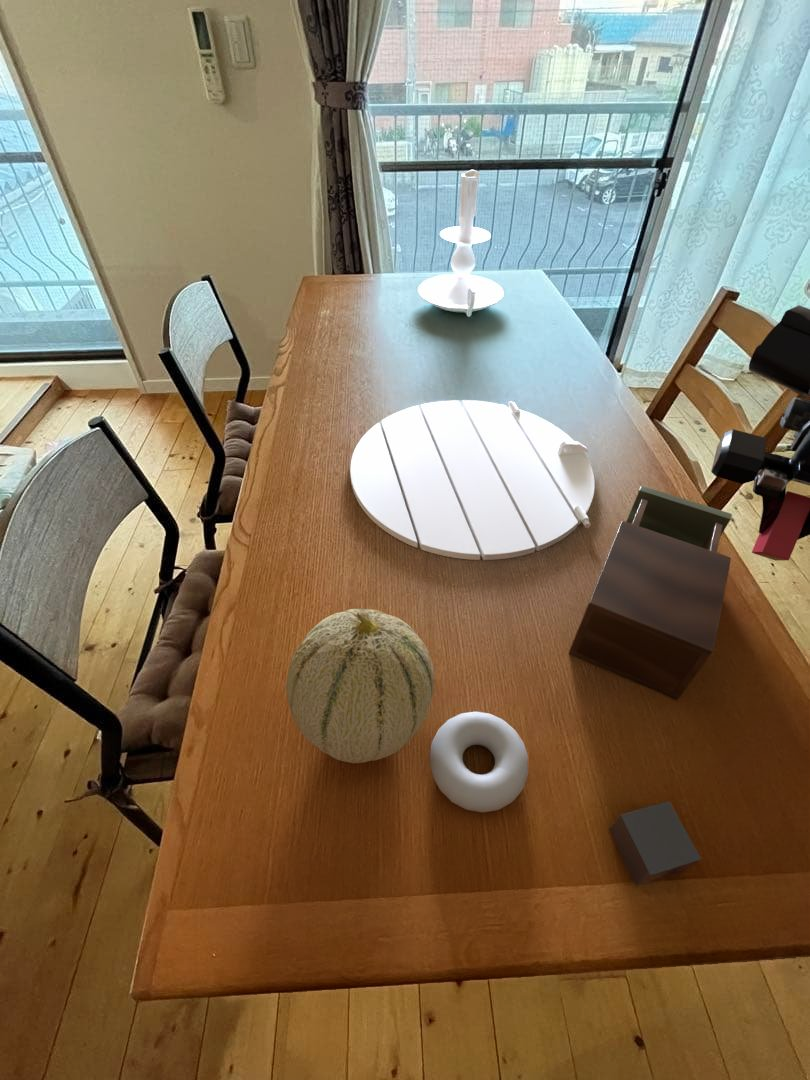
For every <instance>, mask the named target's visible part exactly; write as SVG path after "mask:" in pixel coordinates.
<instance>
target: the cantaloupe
mask: <svg viewBox="0 0 810 1080" xmlns="http://www.w3.org/2000/svg"><path fill="white" fill-rule="evenodd" d="M285 690H286V696H287V697H286V699H287V703H288V708H289V711H290V713H291V716H292V717H293V719H294V723H295V725H296V727H297V729H298V730H299V732H300V733H301V734H302V735H303V737H304V738H305V740H306V741H307V742H309V743H310V744H311V745H312V746H313V747H317V748H318V750H320V752H322V753H324V754H327V755H328V756H330V757H332V758H333V759H335V760H337V761H340V762H344V763H348V764H361V763H363V764H364V763H368V762H371V761H378V760H382V759H385V758H388V757H389V756H391V755H393V754H395V753H396V752H398V751H399V750H400V749H401V748H403V747H404V746H405V744H406V743H407V742H409V741H410V740H411V739H412V738H413V737H414V736H415V735H416V734H417V733H418V731H419V730H420V728H421V727H422V725H423V723H424V722H425V721H426V718H427V716H428V713H429V710H430V707H431V702H432V700H433V696H434V690H435V668H434V665H433V661H432V659H431V655H430V652H429V651H428V648H427V646H426V644H425V643H424V641H423V640H422V639H421V638H420V637H419V635H418V634H417V633H416V632H415V630H414V629H413V628H412V627H411V626H410V625H409V624H408V623H406V622H405V621H403V620H402V619H401V618H399V617H397V616H394V615H391V614H388V613H385V612H383V611H381V610H377V609H371V608H351V609H346V610H343V611H339V612H336V613H333V614H331V615H328V616H327V617H325V618H323V619H322V620H320V622H318V623H317V624H316V625H315V626H314V627H312V629H311V630H310V631H308V633H307V635H306V636H305V637H304V639H303V640H302V642H301V643H300V644H299V645H298V646H297V648H296V650H295V652H294V653H293V657H292V659H291V660H290V664H289V667H288V671H287V675H286V684H285Z"/></svg>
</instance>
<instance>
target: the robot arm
mask: <svg viewBox="0 0 810 1080" xmlns="http://www.w3.org/2000/svg"><path fill="white" fill-rule="evenodd" d="M748 371H749V372H750V373H751V374H755V376H758V377H760V378H763V379H765V380H767V381H769V382H771V383H774V384H776V385H778V386H780V387H782V388H784V389H786V390H789V391H792V392H793V393H795V394H798V395H799V396H802V397H805V398H806V397H809V396H810V308H807V307H805V306H803V305H800V304H799V305H796V306H793V307H791V308H790V309H787V310H785V311H784V313H783V315H782V317H781V319H780V321H779V322H778V323H776V325H775V326H774V327H773V328H772V329H771V330H770V331H769V332H768V333H767V335H766V336H765V338H764V339H763V340H762V341H761V344H759V345H757V346H756V347H755V349H754V351H753V353H752V355H751V358H750V360H749V363H748ZM805 398H800V397H796V396H793V398H792V399H791V401H790V403H789V404H788V405H787V407H786V408H785V411H784V413H783V414H782V416H781V418H780V421H779V425H780V427H781V428H782V429H785V430H789V431H792V432H794V434H793V438H794V439H793V441H792V443H791V444H790V451H791V452H794V453H793V454H792V456H791V457H789V456H785V455H781V454H778V453H771V452H768V451H766V445H767V440H768V439H767V437H764V436H760V435H756V434H754V433H749V432H745V431H742V430H738V429H735V428H732V429H730V430H728V431H726V432H724V433H723V435H722V436H721V438H720V440H719V442H718V444H717V446H716V449H715V453H714V458H713V463H712V466H711V471H710V472H711V474H713V475H714V476H715V477H717V478H720V479H723V480H727V481H730V482H734V483H737V484H741V485H744V484H747V483H750V482H753V486H752V492H753V493H754V494H755V495H756V496H759V497H761V499H762V511H761V517H760V522H759V527H758V533H761V534H763V532H764V531H765V530H766V529H767V528H768V527H769V526H770V524H771V522H772V521H773V519H774V517H775V516H776V514H777V512H778V510H779V509H780V507H781V505H782V504H783V502H784V500H785V493H786V492H787V485H788V484H789V483H790V482H796V483H799V484H803V485H805V486H806V485H807V486H810V399H809V400H808V399H805ZM808 536H810V511H809V513H808V516H807V518H806V520H805V523H804V525H803V528H802V530H801V532H800V535H799V537H798V540H802V539H803V538H805V537H808ZM798 540H797V541H798Z"/></svg>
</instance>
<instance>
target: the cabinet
mask: <svg viewBox="0 0 810 1080" xmlns="http://www.w3.org/2000/svg"><path fill="white" fill-rule="evenodd" d="M731 559H732V557H731V556H728V555H725V554H722V553H719V552H717V553H716V552H713V551H710V550H707V549H704V548H701V547H699V546H696V545H693V544H690V543H687V542H684V541H681V540H678V539H675V538H672V537H669V536H666V535H663V534H660V533H657V532H654V531H651V530H648V529H646V528H643V527H640V526H637V525H634V524H631V523H628V522H626V521H625V520H621V521H620V524H619V527H618V529H617V532H616V534H615V537H614V539H613V541H612V544H611V547H610V548H609V551H608V554H607V557H606V559H605V561H604V564H603V566H602V569H601V571H600V573H599V576H598V579H597V581H596V584H595V586H594V588H593V590H592V591H593V592H592V594H591V596H590V598H589V601H588V604H587V606H586V608H585V612H584V613H583V616H582V619H581V621H580V623H579V626H578V629H577V630H576V633H575V636H574V638H573V641H572V643H571V646H570V649H569V651H568V655H570V656H572V657H575V658H577V659H579V660H582V661H584V662H586V663H589V664H591V665H593V666H595V667H598V668H599V669H603V670H605V671H607V672H609V673H612V674H614V675H617V676H619V677H621V678H624V679H626V680H628V681H630V682H633V683H636V684H637V685H640V686H642V687H644V688H646V689H649V690H651V691H654V692H656V693H658V694H660V695H663V696H665V697H667V698H670V699H672V700H674V701H678V699H679V698H680V697H681V696H682V695H683V693H684V692H685V691H686V689H687V688H688V686H690V684H691V682H692V681H693V680H694V679H695V677H696V676H697V674H698V673H699V672H700V670H701V669H702V668H703V666H704V665H705V663H706V662H707V661H708V660H709V658H710V657H711V655H712V654H713V653H714V649H715V645H716V639H717V634H718V629H719V624H720V618H721V614H722V608H723V603H724V597H725V592H726V586H727V581H728V575H729V570H730V565H731Z"/></svg>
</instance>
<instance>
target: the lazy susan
mask: <svg viewBox="0 0 810 1080" xmlns="http://www.w3.org/2000/svg"><path fill="white" fill-rule="evenodd" d="M507 404H508V405H506V404H502V403H497V402H491V401H486V400H485V401H484V400H475V399H473V400H472V399H462V400H460V399H448V400H447V399H446V400H437V401H431V402H424V403H421V404H419V405H418V404H417V405H413V406H410V407H407V408H404V409H401V410H397V411H396V412H393V413H392V414H390V415H388V416H386V417H384V418H383V419H381V421H378V422H377V423H375V424H374V425H373V426H372V427H370V429H368V430H367V431H365V434H363V436H362V437H360V440H359V441H358V442H357V444H356V446H355V448H354V450H353V453H352V455H351V459H350V465H349V470H350V471H349V473H350V474H349V475H350V483H351V488H352V491H353V495H354V497H355V500H356V501H357V503H358V505H359V506H360V508H361V509H362V511H363V513H365V515H366V516H367V517H368V518H369V519H370V520H371V521H372V522H373V523H374V524H375V525H377V526H378V527H379V528H380V529H381V530H383V531H384V532H386V533H388V534H389V535H390V536H392V537H393V538H395V539H397V540H399V541H401V542H402V543H404V544H407V545H409V546H411V547H413V548H416V549H418V545H419V548H420V550H422V551H425V552H427V553H430V554H434V555H439V556H443V557H448V558H455V559H461V560H471V561H473V560H474V561H480V560H481V559H482V560H483V561H492V560H493V561H494V560H505V559H512V558H519V557H523V556H527V555H530V554H534V553H535V552H540V551H542V550H545V549H547V548H549V547H551V546H554V545H555V544H557V543H559V542H560V541H562V540H564V539H565V538H567V536H569V535H570V534H571V533H573V532H574V531H575V530H577V527H578V526H580V524H583V527H585V528H586V529H588V528H590V527H591V523H590V517H589V516H588V515H587V514H588V512H589V510H590V508H591V505H592V502H593V499H594V496H595V489H596V488H595V486H596V483H595V481H596V480H595V474H594V471H593V470H594V469H593V468H592V464H591V462H590V460H589V459H588V457H587V455H586V454H587V453H589V449H588V447H586V445H584V444H583V443H581V442H580V441H575V440H574V439H573V438H572V437H571V436H570V435H569V434H567V433H566V432H565V431H563V430H562V429H561V428H560V427H558V426H557V425H555V424H553V423H552V422H550V421H548V420H546V419H545V418H543V417H540V416H538V415H536V414H534V413H531V412H529V411H527V410H523V409H522V408H521V409H520V408H519V407H518V406H517V404H516V402H515V401H513V400H509V401H508V402H507Z"/></svg>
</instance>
